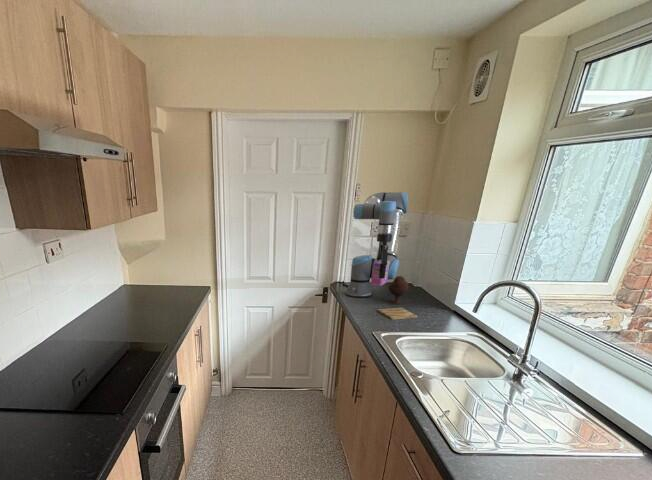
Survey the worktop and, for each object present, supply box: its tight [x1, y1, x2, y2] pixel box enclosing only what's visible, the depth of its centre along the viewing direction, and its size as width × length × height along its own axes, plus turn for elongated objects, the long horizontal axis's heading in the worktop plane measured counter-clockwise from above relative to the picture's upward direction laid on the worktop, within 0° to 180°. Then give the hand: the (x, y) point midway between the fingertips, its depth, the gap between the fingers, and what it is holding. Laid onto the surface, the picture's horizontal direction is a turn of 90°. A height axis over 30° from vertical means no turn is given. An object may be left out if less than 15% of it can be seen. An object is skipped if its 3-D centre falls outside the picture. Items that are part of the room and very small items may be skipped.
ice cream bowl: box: [388, 275, 410, 305], centre depth 235 cm, size 11×11×15 cm
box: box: [370, 260, 390, 287], centre depth 224 cm, size 10×6×12 cm, turn 145°
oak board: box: [377, 307, 419, 321], centre depth 218 cm, size 16×14×1 cm
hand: (379, 275), depth 224 cm, fingers closed on box, 12 cm apart
